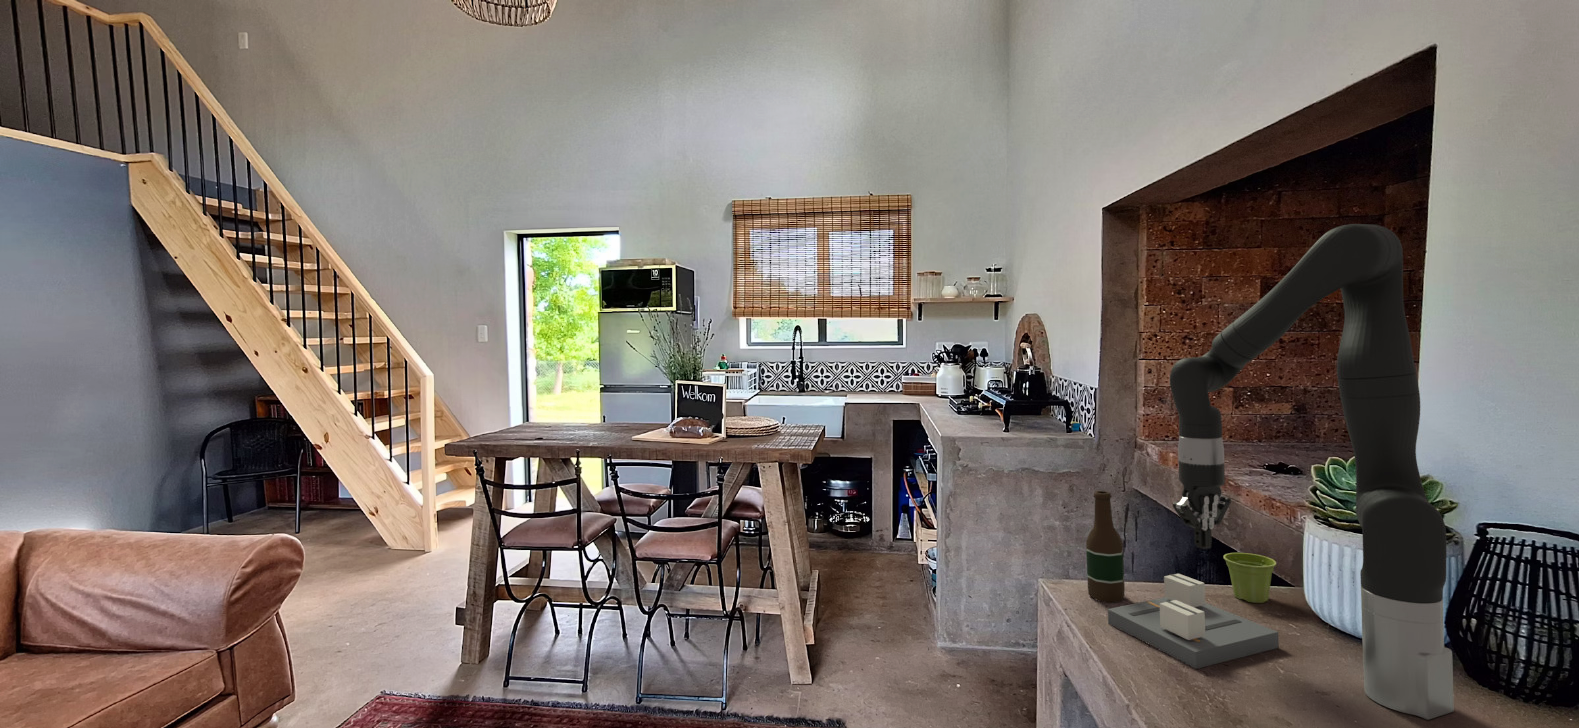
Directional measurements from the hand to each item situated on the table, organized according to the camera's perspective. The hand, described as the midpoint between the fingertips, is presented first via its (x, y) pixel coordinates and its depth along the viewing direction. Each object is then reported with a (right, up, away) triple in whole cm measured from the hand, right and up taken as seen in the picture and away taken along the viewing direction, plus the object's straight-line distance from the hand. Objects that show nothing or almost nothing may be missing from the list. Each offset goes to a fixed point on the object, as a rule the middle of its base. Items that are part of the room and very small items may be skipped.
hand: (1203, 547), depth 123 cm
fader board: (-2, -17, +1) cm, 18 cm away
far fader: (+1, -14, +8) cm, 16 cm away
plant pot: (+21, -16, +16) cm, 31 cm away
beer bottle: (-8, -18, +21) cm, 28 cm away
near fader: (-7, -14, -5) cm, 17 cm away
